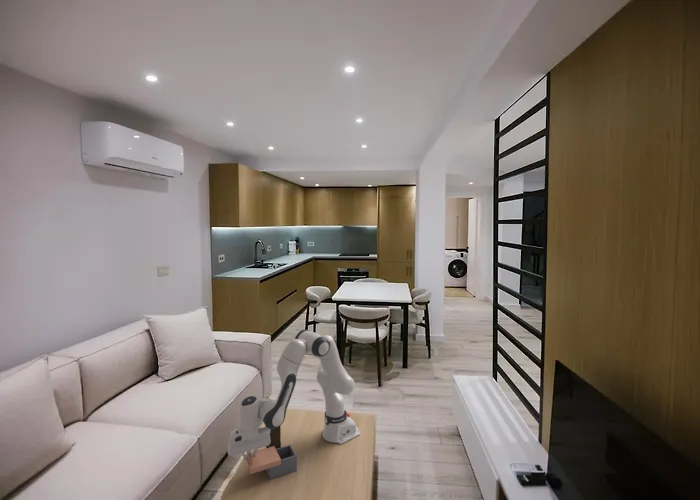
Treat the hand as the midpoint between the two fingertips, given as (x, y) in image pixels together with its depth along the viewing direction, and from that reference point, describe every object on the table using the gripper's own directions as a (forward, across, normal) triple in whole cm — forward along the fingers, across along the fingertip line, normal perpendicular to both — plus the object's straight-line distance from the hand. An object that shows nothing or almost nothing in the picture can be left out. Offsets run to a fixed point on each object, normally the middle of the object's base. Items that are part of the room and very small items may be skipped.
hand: (249, 457), depth 173 cm
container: (+11, -16, -13) cm, 23 cm away
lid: (+4, -6, 0) cm, 8 cm away
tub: (+11, -16, 0) cm, 19 cm away
